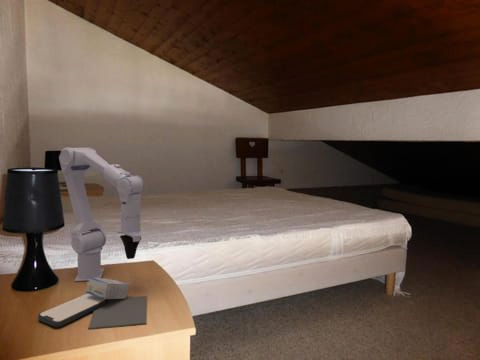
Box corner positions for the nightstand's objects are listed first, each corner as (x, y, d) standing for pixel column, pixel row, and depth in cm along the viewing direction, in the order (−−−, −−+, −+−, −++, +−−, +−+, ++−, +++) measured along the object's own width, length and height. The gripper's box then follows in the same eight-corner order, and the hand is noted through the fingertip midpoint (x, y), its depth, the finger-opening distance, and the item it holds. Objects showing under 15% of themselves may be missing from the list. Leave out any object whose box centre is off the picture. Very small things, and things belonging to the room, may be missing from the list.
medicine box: (130, 283, 106) (108, 282, 99) (126, 299, 105) (104, 299, 98) (111, 278, 110) (89, 277, 102) (107, 293, 109) (84, 293, 101)
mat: (97, 300, 104) (97, 299, 104) (146, 297, 108) (146, 295, 108) (88, 329, 89) (88, 327, 89) (146, 324, 92) (146, 322, 92)
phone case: (88, 297, 106) (35, 320, 92) (88, 292, 106) (35, 314, 92) (109, 304, 102) (57, 329, 88) (109, 298, 101) (57, 323, 87)
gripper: (112, 211, 113) (112, 252, 115) (123, 221, 101) (123, 267, 103) (134, 210, 117) (134, 250, 119) (147, 219, 105) (147, 264, 106)
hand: (130, 258), depth 111 cm, fingers closed
